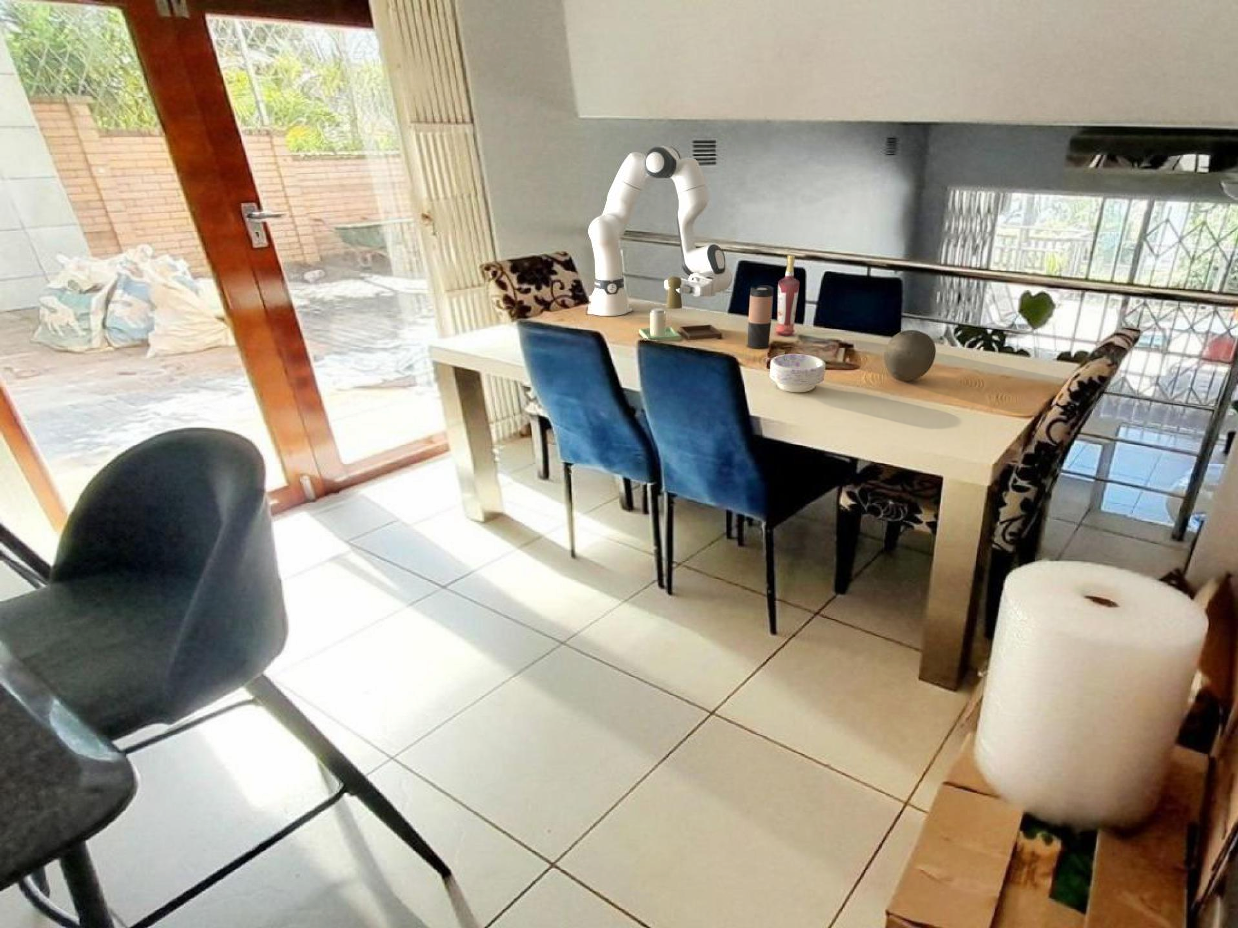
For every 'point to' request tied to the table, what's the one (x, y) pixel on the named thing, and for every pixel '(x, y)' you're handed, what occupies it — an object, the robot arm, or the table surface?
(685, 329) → the dark tray
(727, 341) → the table surface
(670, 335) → the pale tray
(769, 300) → the travel mug
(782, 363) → the paper bowls
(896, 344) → the cantaloupe
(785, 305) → the liquor
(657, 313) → the salt shaker
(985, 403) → the table surface
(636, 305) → the table surface
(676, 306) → the olive pawn figurine
